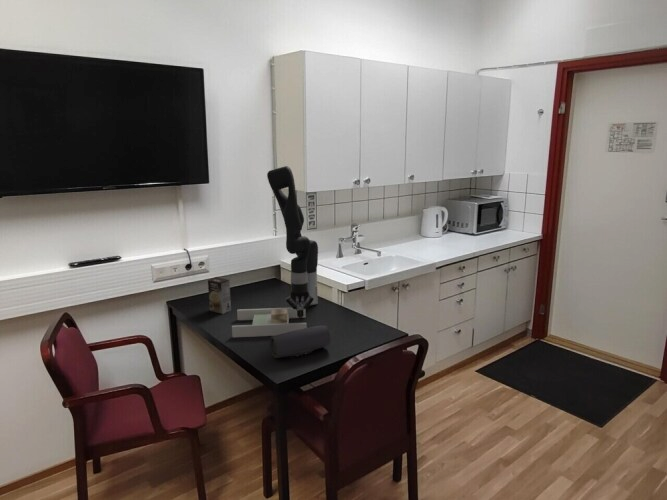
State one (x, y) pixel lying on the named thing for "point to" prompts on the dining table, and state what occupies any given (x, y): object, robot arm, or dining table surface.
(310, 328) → the bluetooth speaker
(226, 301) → the coffee box
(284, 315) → the birch block
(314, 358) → the dining table surface
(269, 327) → the track
